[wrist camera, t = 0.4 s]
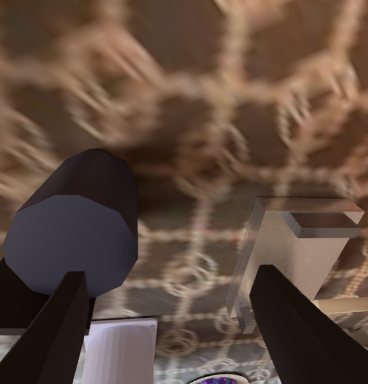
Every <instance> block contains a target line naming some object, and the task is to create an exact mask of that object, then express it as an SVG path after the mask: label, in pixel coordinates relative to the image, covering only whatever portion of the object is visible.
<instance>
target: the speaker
mask: <svg viewBox="0 0 368 384" xmlns="http://www.w3.org/2000/svg"><path fill="white" fill-rule="evenodd" d="M2 249H3V253H4V258H3V259H2V260H1V262H0V335H22V334H23V333H24V332H25V331H26V329H27V328H28V327H29V325H30V324H31V323H32V321H33V320H34V319H35V317H36V316H37V315H38V313H39V312H40V310H41V309H42V308H43V306H44V305H45V304H46V302H47V301H48V299H49V298H50V296H51V295H52V293H53V292H54V290H55V289H56V287H57V286H58V284H59V283H60V281H61V280H62V278H63V276H64V275H65V274H66V273H67V272H68V271H85V276H86V283H87V290H88V297H89V304H90V305H89V312H88V319H87V326H86V332H85V336H89V331H90V326H91V321H92V316H93V311H94V306H95V301H96V297H97V296H99V295H101V294H104V293H106V292H108V291H110V290H113V289H115V288H117V287H119V286H121V285H122V283H123V282H124V280H125V279H126V277H127V275H128V274H129V272H130V270H131V269H132V267H133V266H134V264H135V262H136V261H137V259H138V222H137V182H136V180H135V178H134V176H133V174H132V172H131V171H130V169H129V167H128V165H127V163H126V162H125V161H123V160H121V159H119V158H117V157H115V156H113V155H112V154H110V153H108V152H106V151H104V150H95V149H88V150H86V151H84V152H82V153H79V154H77V155H75V156H73V157H71V158H68V159H66V160H65V161H64V162H63V163H62V164H61V165H60V166H59V167H58V168H57V170H56V171H55V172H54V173H53V174H52V175H51V176H50V177H49V178H48V179H47V180H46V181H45V182H44V183H43V185H42V186H41V187H40V188H39V189H38V190H37V191H36V192H35V193H34V194H33V195H32V196H31V197H30V198H29V199H28V201H27V202H26V203H25V204H24V205H23V206H22V207H21V208H20V209H19V210H18V211H17V212H16V214H15V217H14V219H13V221H12V224H11V226H10V228H9V231H8V233H7V235H6V238H5V240H4V242H3V245H2Z"/></svg>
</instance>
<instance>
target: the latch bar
mask: <svg viewBox="0 0 368 384" xmlns="http://www.w3.org/2000/svg"><path fill="white" fill-rule="evenodd" d="M311 302H312V303H313V304H314V305H315V306H316V307H318V308H319V309H320V310H321V311H322V312H323V313H324V314H337V313H348V312H359V311H368V297H362V298H344V299H326V300H314V301H311ZM251 314H252V317H253V320H256V319H255V316H254V313H253V311H251Z"/></svg>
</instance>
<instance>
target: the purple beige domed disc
mask: <svg viewBox="0 0 368 384" xmlns="http://www.w3.org/2000/svg"><path fill="white" fill-rule="evenodd" d="M213 377H220V378H217V379H215V378H213ZM227 377H230V378H233V379H235V380H236V381H237V384H249V382H248V380H247V379H246V378H244V377H242V376H238V375H232V374H220V375H213V376H208V377H205V378H201V379H199V380H196V381H194V382H192V383H190V384H196V383H197V384H236V381H235V380H229V378H227ZM208 378H210V379H208ZM205 379H206V380H205ZM202 380H204V381H202ZM200 381H202V382H201V383H198V382H200Z"/></svg>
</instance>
